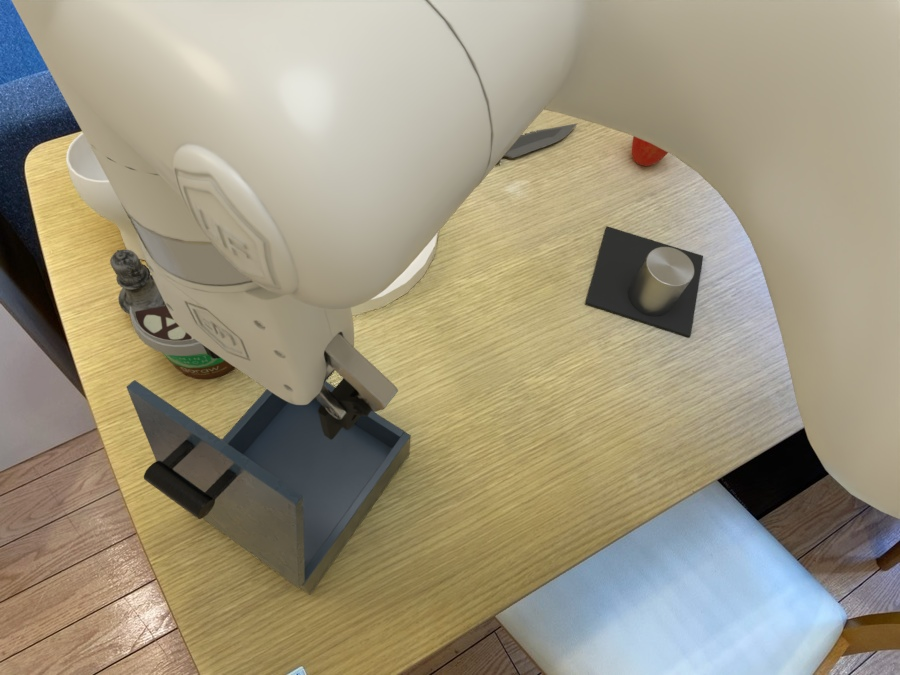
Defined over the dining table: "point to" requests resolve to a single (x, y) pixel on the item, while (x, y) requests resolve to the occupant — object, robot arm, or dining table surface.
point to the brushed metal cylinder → (660, 281)
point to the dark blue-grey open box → (322, 469)
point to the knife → (538, 140)
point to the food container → (176, 344)
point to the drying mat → (619, 271)
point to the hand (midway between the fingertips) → (284, 379)
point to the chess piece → (135, 282)
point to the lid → (222, 486)
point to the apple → (646, 152)
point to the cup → (99, 190)
